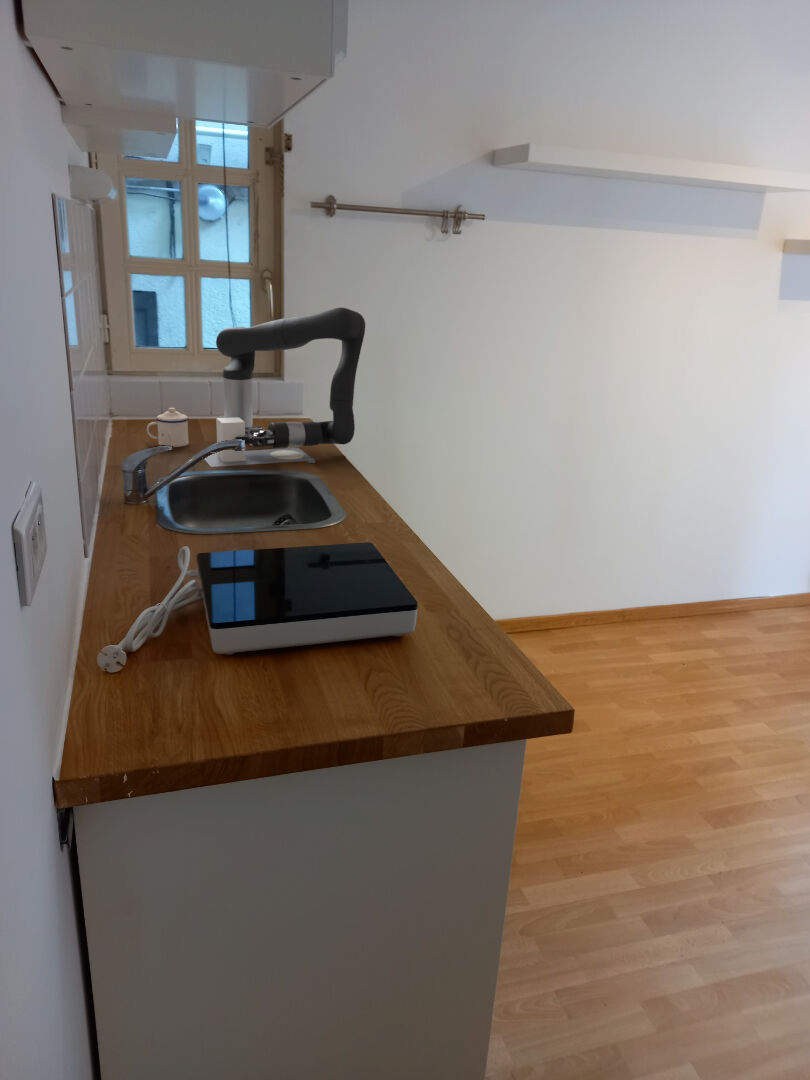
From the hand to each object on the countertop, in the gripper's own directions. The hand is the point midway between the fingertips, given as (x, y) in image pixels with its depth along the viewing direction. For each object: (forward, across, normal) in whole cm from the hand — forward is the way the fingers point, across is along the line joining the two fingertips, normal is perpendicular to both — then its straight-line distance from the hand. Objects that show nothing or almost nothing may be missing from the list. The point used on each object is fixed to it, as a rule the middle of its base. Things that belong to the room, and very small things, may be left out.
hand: (231, 437), depth 219 cm
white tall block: (0, 0, +6) cm, 6 cm away
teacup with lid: (+14, -22, +7) cm, 27 cm away
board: (-7, 0, +7) cm, 10 cm away
